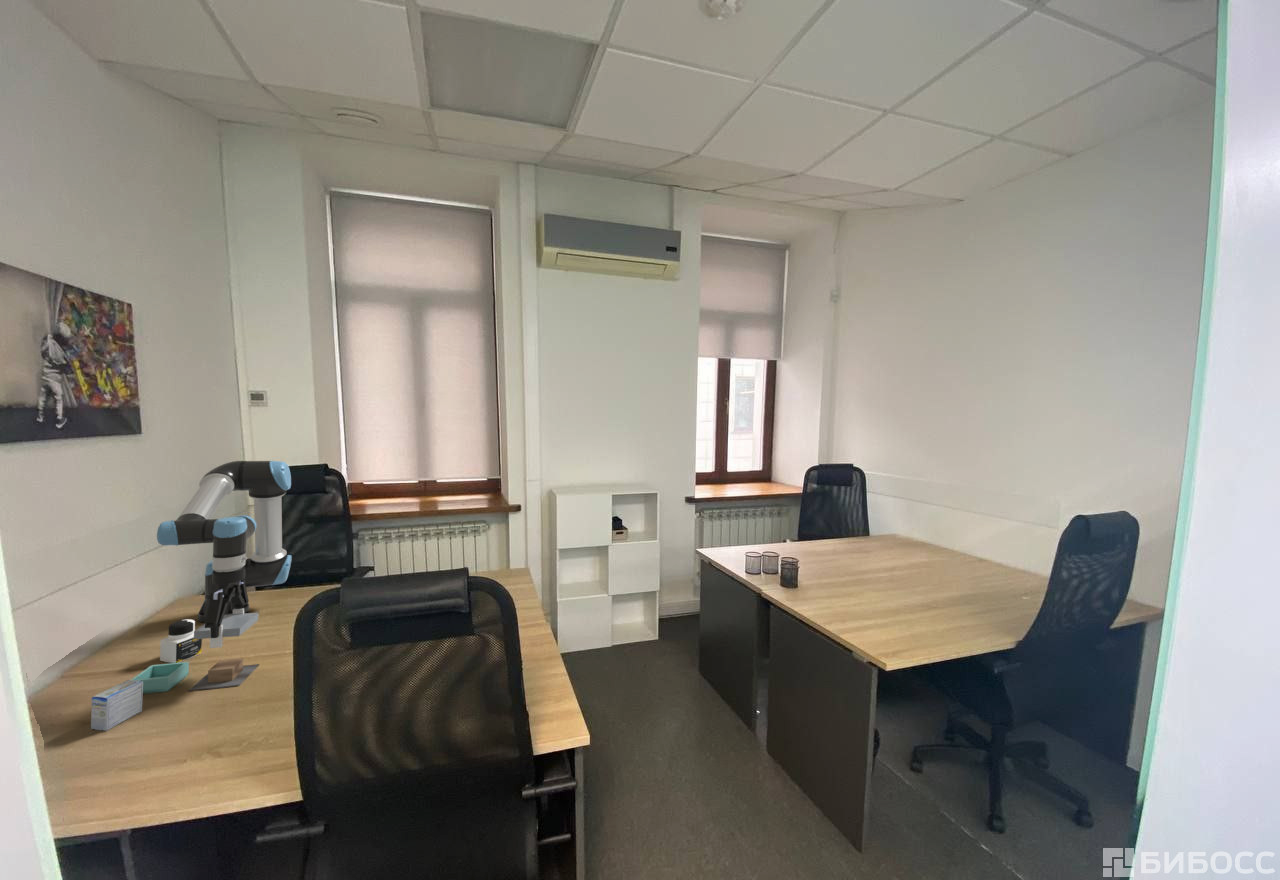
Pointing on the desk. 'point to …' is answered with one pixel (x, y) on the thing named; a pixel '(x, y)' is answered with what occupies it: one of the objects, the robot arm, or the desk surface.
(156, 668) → the dish
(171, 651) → the medicine bottle
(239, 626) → the cover plate
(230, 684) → the stand
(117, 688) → the medicine box
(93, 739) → the desk surface
